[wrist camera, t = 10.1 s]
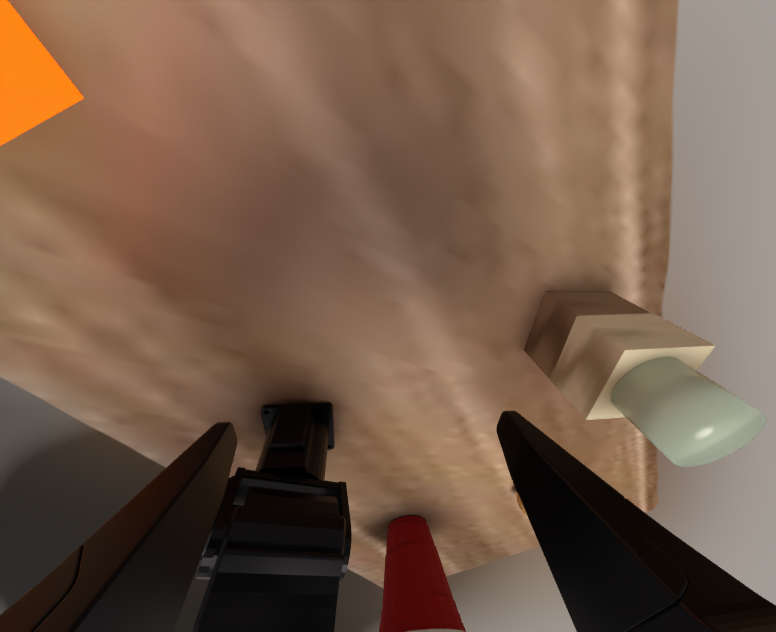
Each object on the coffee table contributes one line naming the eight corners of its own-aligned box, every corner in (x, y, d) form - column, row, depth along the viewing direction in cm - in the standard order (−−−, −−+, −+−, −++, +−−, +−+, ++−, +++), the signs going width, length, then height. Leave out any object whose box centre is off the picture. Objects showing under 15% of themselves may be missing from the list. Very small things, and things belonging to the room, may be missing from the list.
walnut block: (581, 348, 26) (615, 376, 23) (523, 349, 26) (549, 378, 22) (609, 291, 23) (653, 314, 20) (545, 291, 23) (578, 314, 19)
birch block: (617, 375, 23) (663, 414, 19) (550, 379, 22) (585, 420, 19) (653, 313, 20) (715, 345, 16) (576, 316, 19) (624, 350, 16)
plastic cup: (353, 530, 40) (353, 661, 29) (411, 497, 37) (433, 630, 26) (401, 548, 44) (415, 667, 34) (455, 521, 41) (489, 641, 31)
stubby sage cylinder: (657, 409, 19) (724, 464, 16) (598, 411, 18) (654, 469, 15) (699, 356, 17) (788, 408, 13) (634, 357, 16) (708, 411, 13)
